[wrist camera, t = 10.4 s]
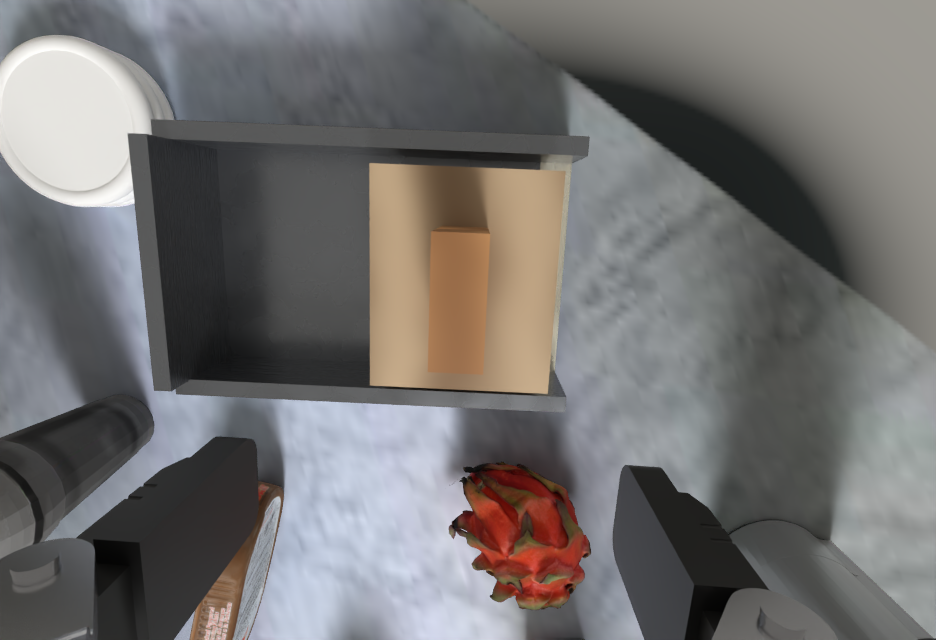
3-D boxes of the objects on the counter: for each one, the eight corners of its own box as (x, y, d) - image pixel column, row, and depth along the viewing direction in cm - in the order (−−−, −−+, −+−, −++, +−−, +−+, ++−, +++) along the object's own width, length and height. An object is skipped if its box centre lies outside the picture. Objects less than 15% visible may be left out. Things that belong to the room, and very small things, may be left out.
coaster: (172, 51, 32) (136, 32, 29) (188, 208, 35) (156, 208, 31) (20, 48, 33) (-33, 30, 29) (46, 205, 35) (-1, 205, 31)
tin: (260, 456, 38) (200, 523, 30) (300, 466, 39) (251, 537, 30) (227, 614, 42) (165, 714, 33) (264, 623, 42) (211, 725, 34)
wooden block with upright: (547, 178, 32) (591, 160, 20) (534, 357, 35) (565, 442, 22) (392, 172, 32) (336, 149, 20) (391, 350, 35) (341, 432, 22)
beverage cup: (67, 444, 38) (-357, 688, 19) (89, 362, 37) (-347, 534, 17) (157, 479, 39) (-165, 752, 19) (183, 399, 37) (-139, 607, 18)
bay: (570, 149, 33) (598, 131, 25) (551, 379, 36) (570, 426, 29) (208, 134, 33) (125, 112, 25) (224, 364, 37) (155, 406, 29)
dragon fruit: (555, 554, 41) (470, 437, 41) (640, 544, 35) (541, 408, 35) (503, 644, 35) (403, 509, 35) (594, 652, 29) (474, 488, 29)
